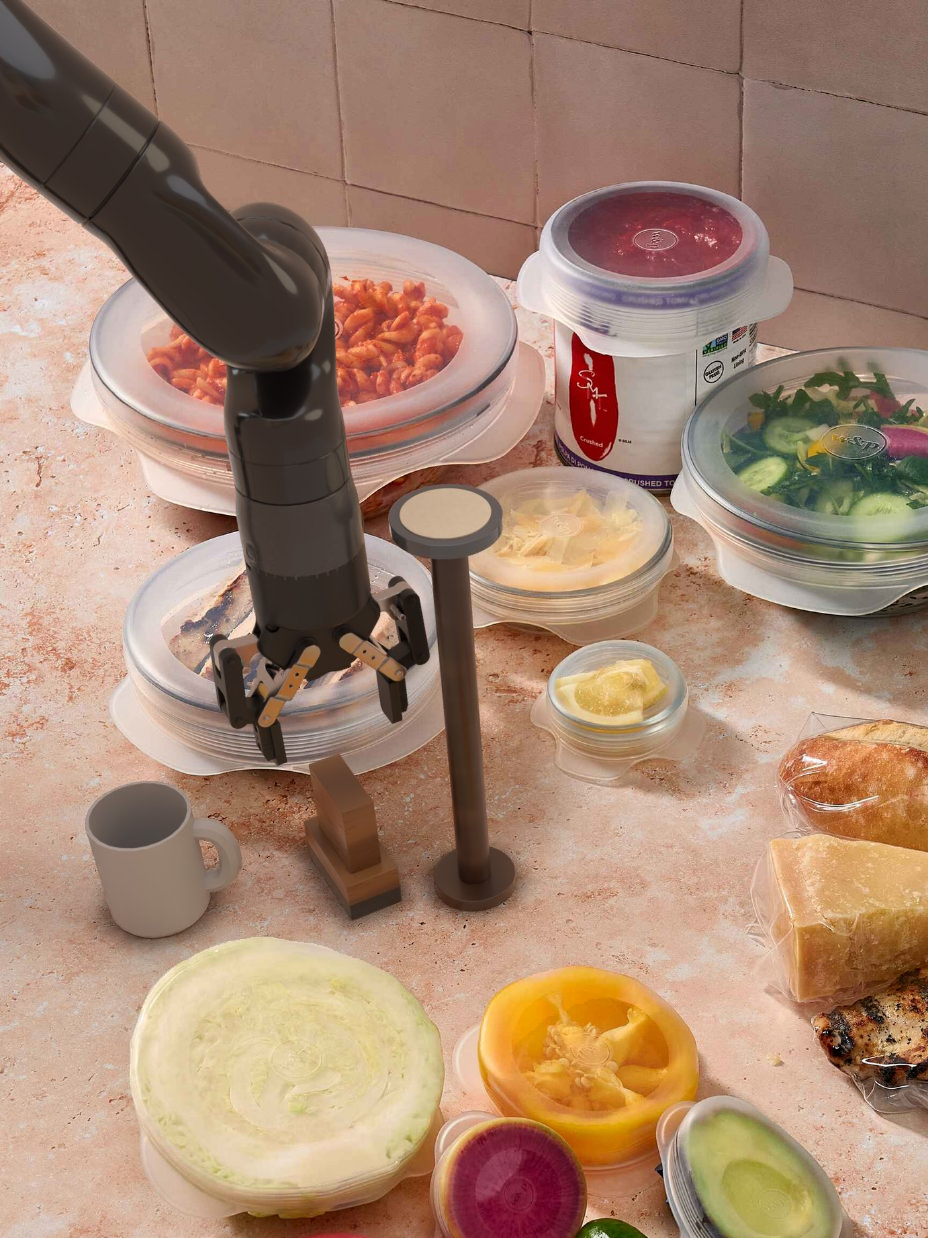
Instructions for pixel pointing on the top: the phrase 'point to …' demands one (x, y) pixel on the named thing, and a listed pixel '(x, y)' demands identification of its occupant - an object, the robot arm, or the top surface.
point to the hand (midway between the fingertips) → (335, 736)
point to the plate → (446, 521)
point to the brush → (349, 841)
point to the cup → (157, 857)
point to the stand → (464, 751)
